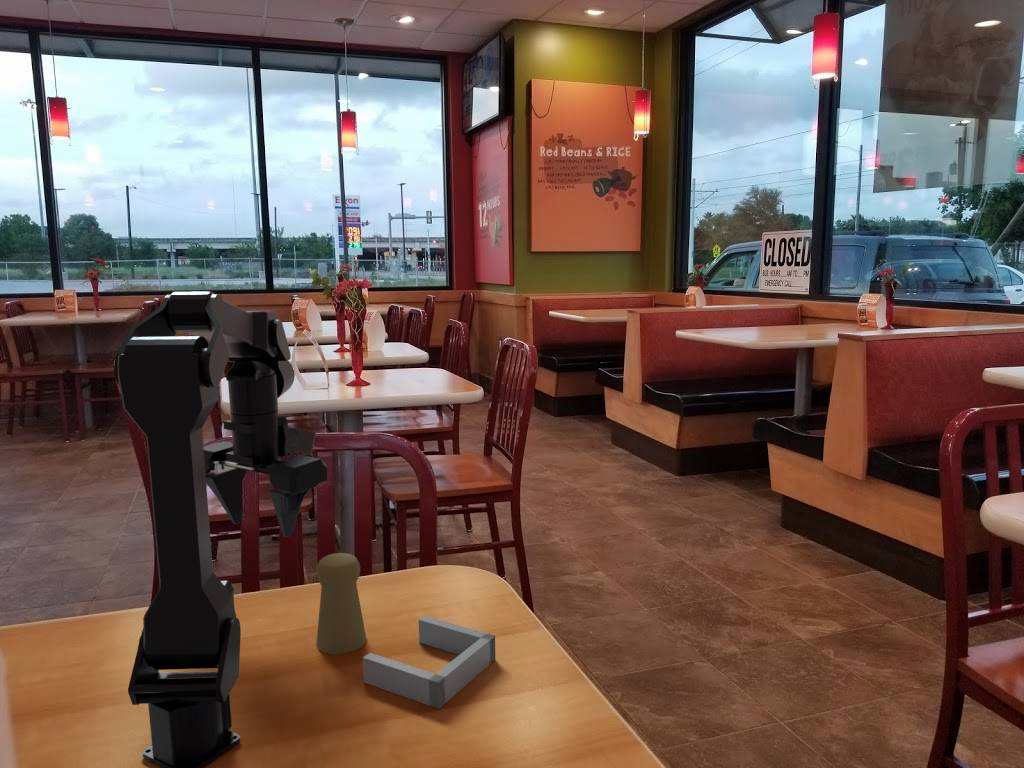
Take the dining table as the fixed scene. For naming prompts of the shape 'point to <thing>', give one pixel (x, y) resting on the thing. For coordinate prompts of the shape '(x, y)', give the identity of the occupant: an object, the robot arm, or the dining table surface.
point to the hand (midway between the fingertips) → (262, 529)
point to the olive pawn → (339, 605)
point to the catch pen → (449, 680)
